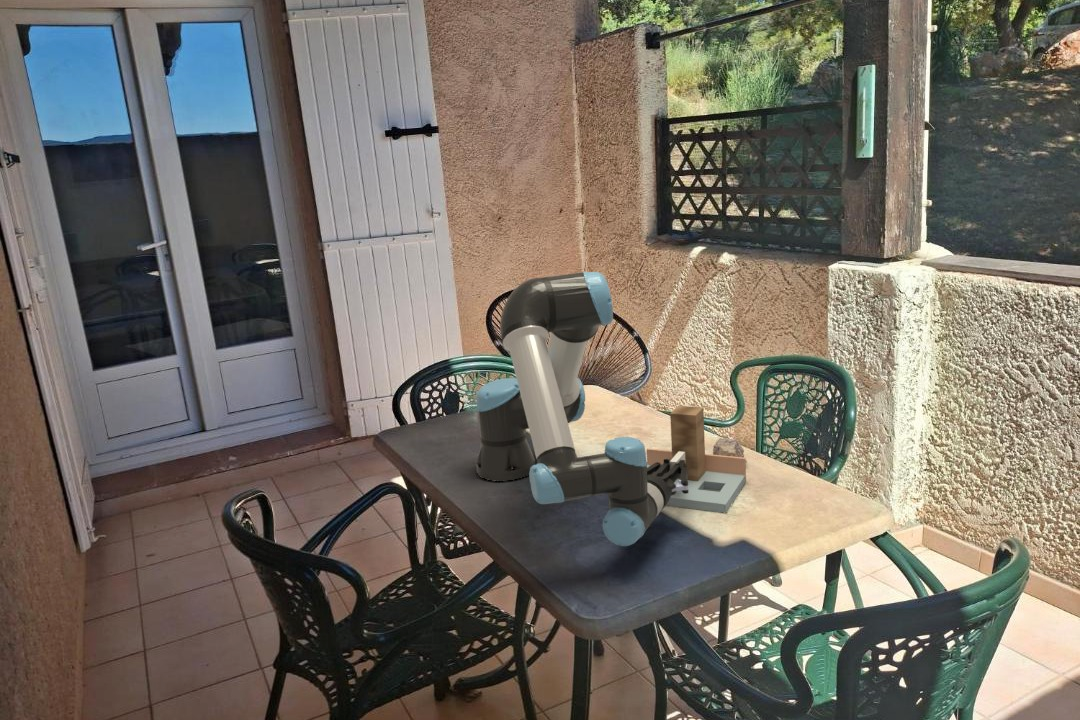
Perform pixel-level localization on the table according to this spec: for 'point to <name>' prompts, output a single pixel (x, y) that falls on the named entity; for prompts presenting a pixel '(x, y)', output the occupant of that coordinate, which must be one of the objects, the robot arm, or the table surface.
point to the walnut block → (689, 438)
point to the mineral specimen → (728, 448)
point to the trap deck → (708, 482)
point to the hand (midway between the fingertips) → (682, 457)
